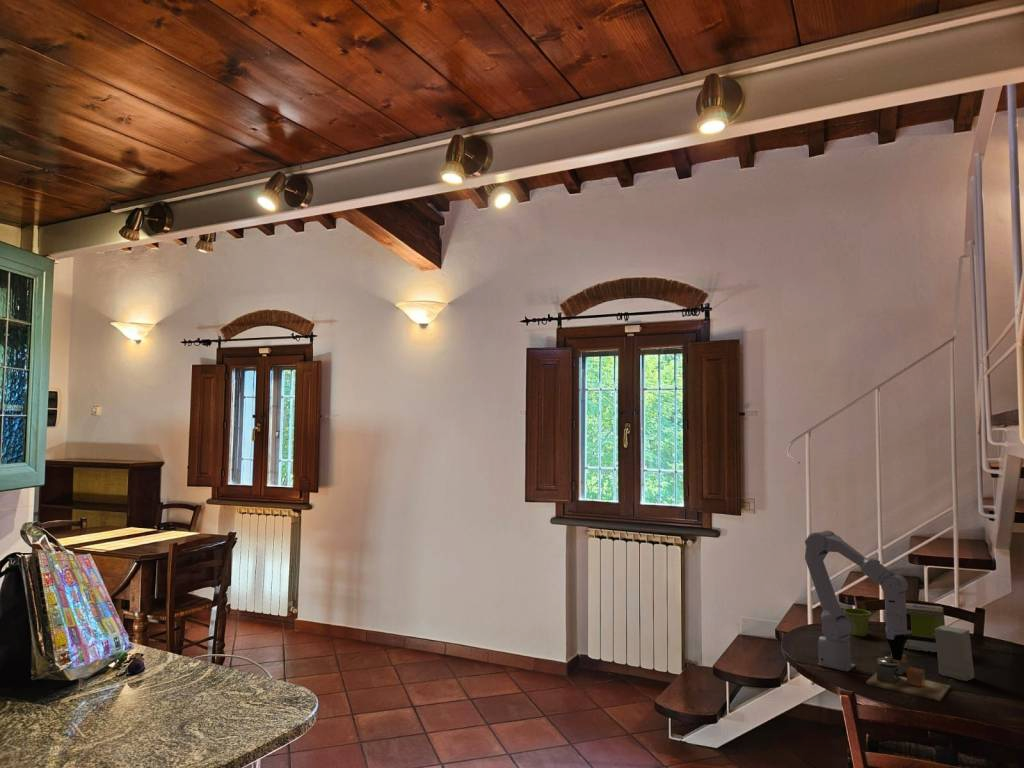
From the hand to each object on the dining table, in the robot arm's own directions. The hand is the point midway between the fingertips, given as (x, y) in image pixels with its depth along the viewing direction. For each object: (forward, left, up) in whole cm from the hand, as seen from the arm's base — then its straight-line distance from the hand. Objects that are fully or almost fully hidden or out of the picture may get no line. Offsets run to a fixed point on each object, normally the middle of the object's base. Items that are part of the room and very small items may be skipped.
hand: (897, 659), depth 206 cm
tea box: (-4, +45, -8) cm, 46 cm away
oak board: (+3, -1, -7) cm, 8 cm away
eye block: (-3, -1, -7) cm, 8 cm away
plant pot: (-26, +47, -7) cm, 54 cm away
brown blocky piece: (+1, -1, -6) cm, 6 cm away
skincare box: (+11, +19, -7) cm, 24 cm away
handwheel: (-2, 0, -2) cm, 2 cm away
